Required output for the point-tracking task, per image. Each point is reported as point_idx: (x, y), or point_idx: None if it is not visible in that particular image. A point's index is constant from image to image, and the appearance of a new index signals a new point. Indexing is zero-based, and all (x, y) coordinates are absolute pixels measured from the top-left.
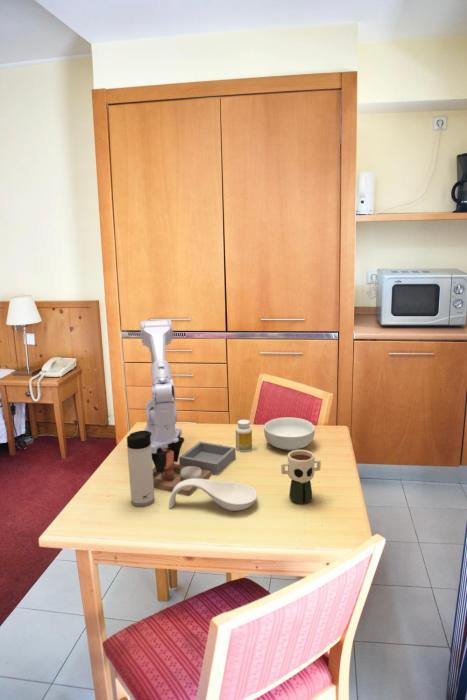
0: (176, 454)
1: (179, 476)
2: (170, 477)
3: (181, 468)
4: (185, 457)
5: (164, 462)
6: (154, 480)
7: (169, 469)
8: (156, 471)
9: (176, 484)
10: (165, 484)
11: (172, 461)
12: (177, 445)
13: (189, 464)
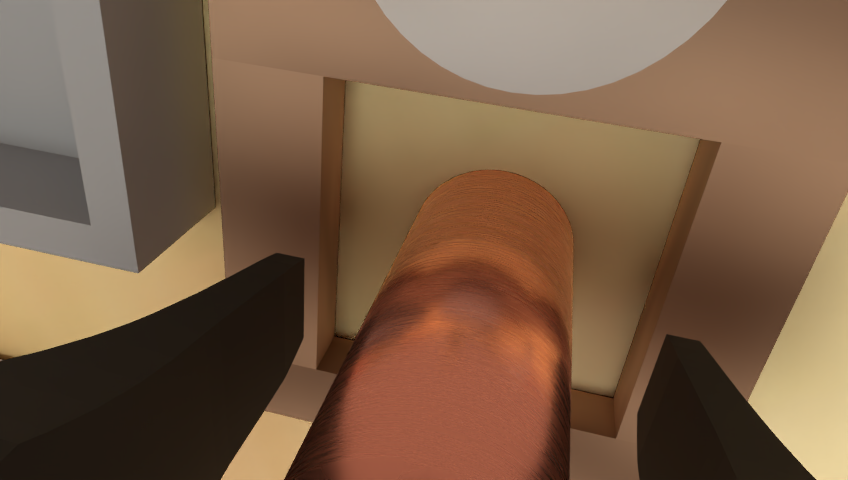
0: (242, 329)
1: (523, 103)
2: (548, 216)
3: (299, 162)
4: (105, 192)
5: (731, 445)
6: None
7: (548, 283)
8: None
9: (797, 48)
10: (809, 207)
11: (480, 316)
12: (123, 439)
13: (168, 96)
